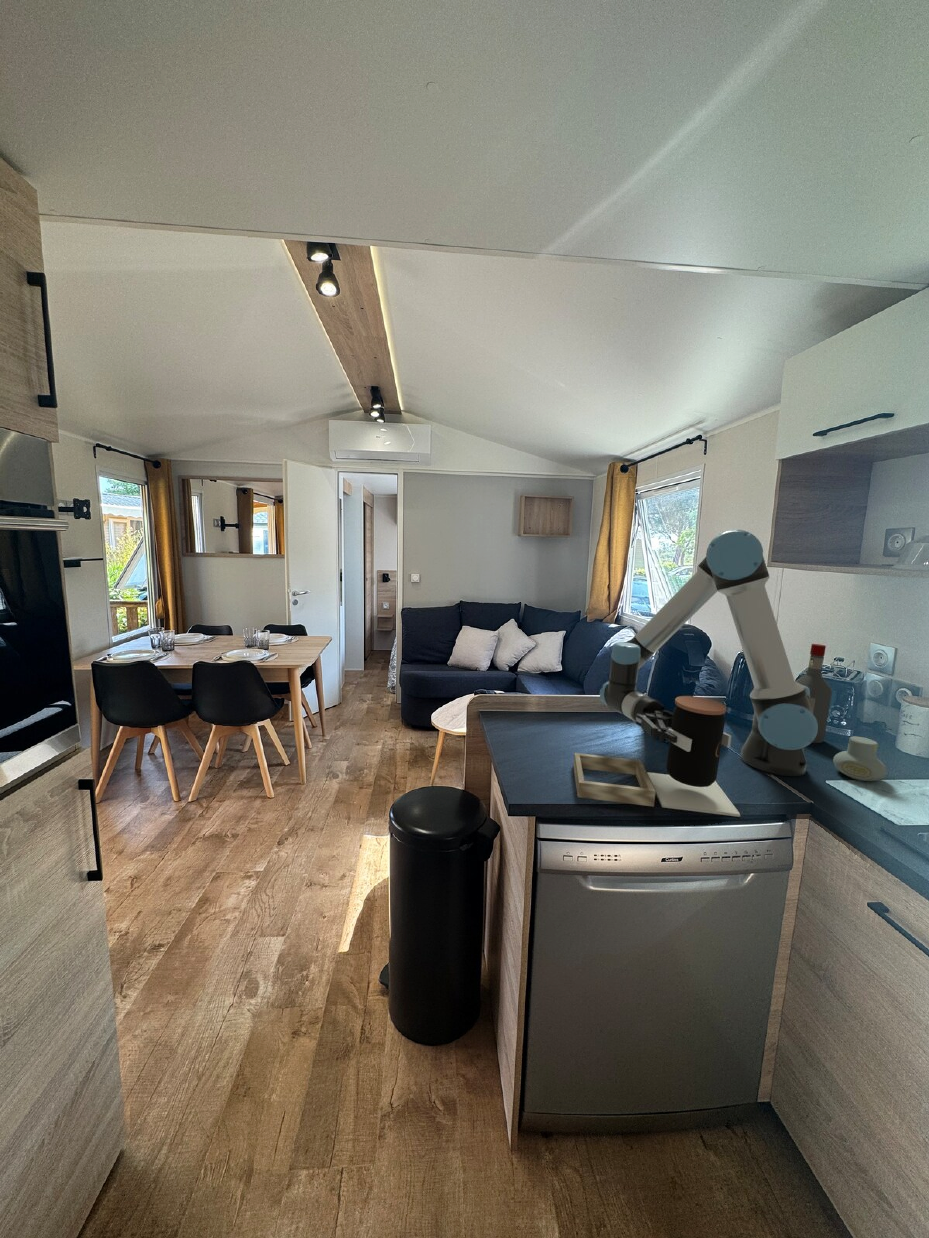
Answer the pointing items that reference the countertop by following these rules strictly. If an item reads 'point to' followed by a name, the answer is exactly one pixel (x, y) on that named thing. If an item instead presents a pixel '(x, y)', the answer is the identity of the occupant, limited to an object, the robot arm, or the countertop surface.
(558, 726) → the countertop surface
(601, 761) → the birch corral
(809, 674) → the liquor
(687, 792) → the cream mat
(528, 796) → the countertop surface
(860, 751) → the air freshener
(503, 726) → the countertop surface
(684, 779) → the coffee jar
